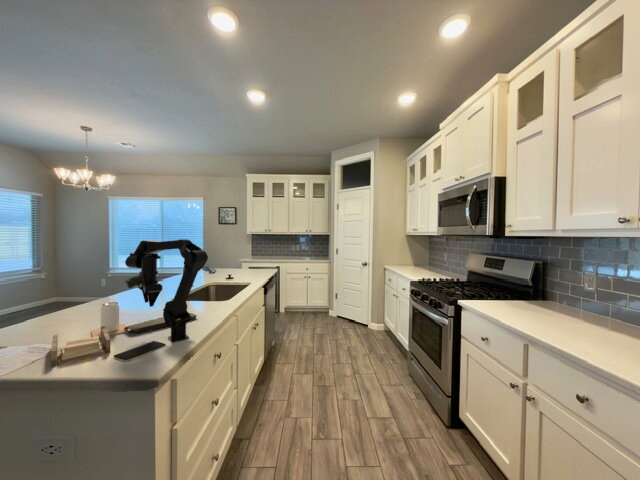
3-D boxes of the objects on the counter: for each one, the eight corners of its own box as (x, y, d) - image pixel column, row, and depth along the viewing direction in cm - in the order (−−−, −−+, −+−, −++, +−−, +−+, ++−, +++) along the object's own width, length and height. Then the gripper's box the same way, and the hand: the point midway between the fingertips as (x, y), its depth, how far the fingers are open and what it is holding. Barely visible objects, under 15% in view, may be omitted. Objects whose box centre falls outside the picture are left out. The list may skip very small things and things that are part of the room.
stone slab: (123, 324, 118) (188, 309, 142) (123, 331, 118) (188, 314, 142) (132, 330, 112) (199, 312, 136) (132, 337, 112) (199, 319, 136)
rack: (110, 352, 96) (110, 339, 96) (51, 366, 86) (51, 351, 85) (104, 337, 110) (104, 325, 110) (53, 348, 99) (53, 335, 99)
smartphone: (166, 343, 103) (125, 359, 89) (166, 346, 103) (125, 363, 89) (154, 340, 106) (112, 355, 92) (154, 343, 106) (112, 358, 92)
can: (109, 327, 120) (109, 301, 120) (122, 328, 119) (122, 302, 119) (96, 332, 113) (96, 305, 113) (110, 333, 113) (110, 306, 112)
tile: (128, 332, 116) (128, 330, 116) (93, 339, 108) (93, 337, 108) (124, 325, 125) (124, 324, 125) (91, 331, 116) (91, 330, 116)
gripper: (122, 268, 115) (122, 303, 116) (130, 273, 102) (130, 312, 102) (152, 266, 123) (151, 299, 123) (162, 270, 110) (162, 307, 110)
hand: (148, 304), depth 115 cm, fingers open, 9 cm apart
